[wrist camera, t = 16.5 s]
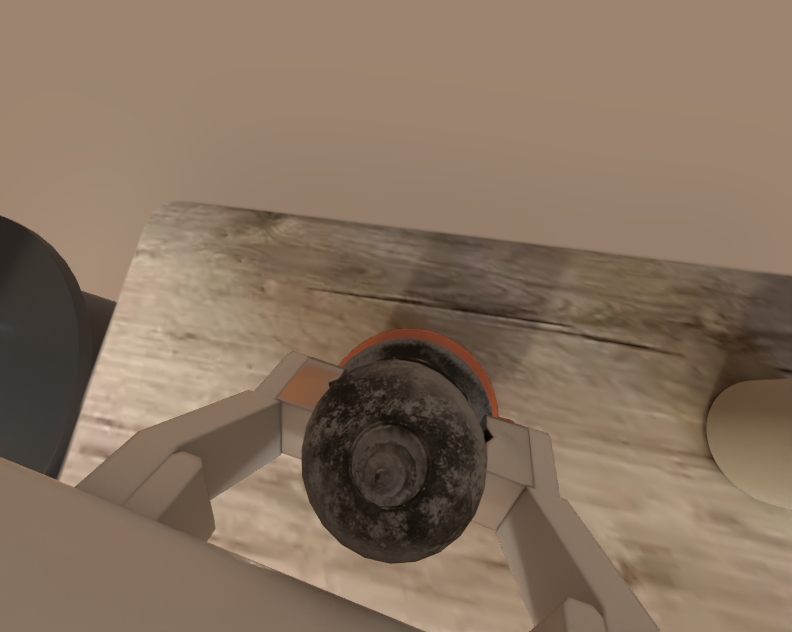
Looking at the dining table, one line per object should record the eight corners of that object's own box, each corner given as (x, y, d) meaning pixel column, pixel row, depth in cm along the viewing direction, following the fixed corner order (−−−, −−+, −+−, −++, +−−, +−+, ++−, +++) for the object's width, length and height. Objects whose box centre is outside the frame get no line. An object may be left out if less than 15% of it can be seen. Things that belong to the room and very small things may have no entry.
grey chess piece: (378, 519, 14) (215, 1055, 3) (318, 390, 16) (36, 359, 4) (502, 449, 15) (844, 641, 3) (433, 328, 16) (484, 136, 4)
